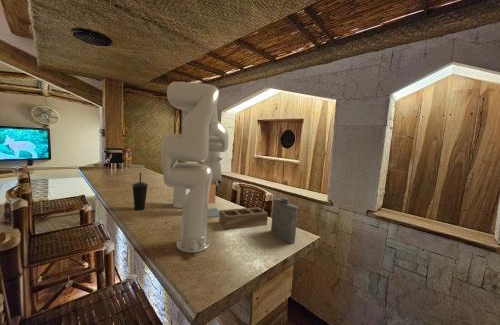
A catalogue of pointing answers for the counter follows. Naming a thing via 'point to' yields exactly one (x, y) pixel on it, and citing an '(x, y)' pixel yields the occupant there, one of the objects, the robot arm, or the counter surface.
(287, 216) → the flask
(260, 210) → the wooden compartment box
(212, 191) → the peg
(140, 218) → the counter surface
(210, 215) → the mat
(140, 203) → the drinking cup
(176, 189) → the supplement box
